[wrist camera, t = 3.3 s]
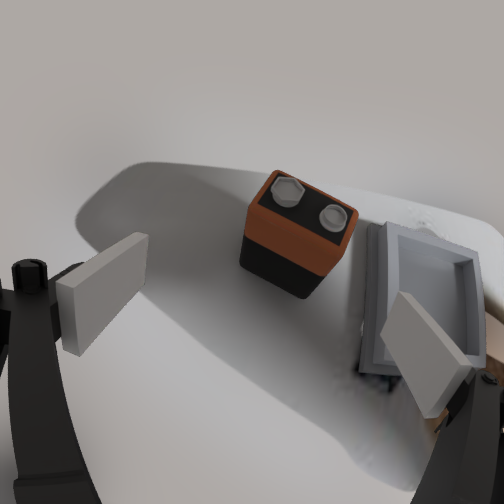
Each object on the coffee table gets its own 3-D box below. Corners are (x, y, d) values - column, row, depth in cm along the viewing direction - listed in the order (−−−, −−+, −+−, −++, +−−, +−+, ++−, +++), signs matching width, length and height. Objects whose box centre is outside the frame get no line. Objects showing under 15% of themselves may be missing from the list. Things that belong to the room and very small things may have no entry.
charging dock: (471, 379, 23) (489, 375, 21) (358, 372, 23) (374, 368, 21) (466, 258, 30) (480, 247, 27) (367, 227, 30) (379, 212, 27)
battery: (259, 230, 29) (277, 156, 20) (322, 263, 28) (367, 202, 19) (236, 266, 27) (246, 199, 18) (304, 302, 26) (348, 252, 17)
